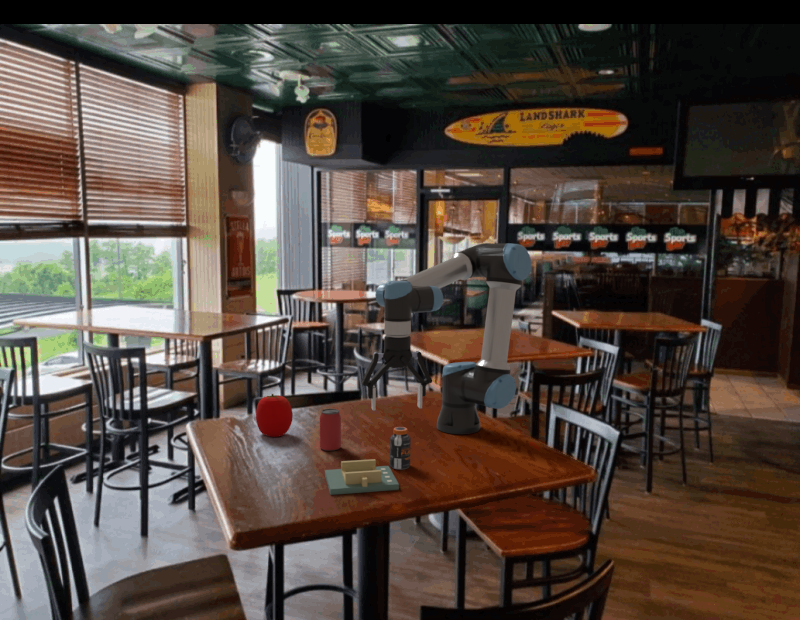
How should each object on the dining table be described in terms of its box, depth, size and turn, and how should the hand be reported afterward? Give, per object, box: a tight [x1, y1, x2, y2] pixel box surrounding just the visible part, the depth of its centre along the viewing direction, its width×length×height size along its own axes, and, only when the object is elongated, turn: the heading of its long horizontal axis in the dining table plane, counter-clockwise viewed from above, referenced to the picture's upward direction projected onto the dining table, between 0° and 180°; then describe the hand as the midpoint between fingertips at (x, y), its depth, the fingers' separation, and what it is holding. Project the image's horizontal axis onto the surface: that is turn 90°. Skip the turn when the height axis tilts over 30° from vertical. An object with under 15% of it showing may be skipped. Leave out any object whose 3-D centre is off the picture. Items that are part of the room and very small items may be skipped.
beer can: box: [319, 408, 342, 452], centre depth 202 cm, size 7×7×12 cm
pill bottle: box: [389, 426, 412, 470], centre depth 187 cm, size 6×6×11 cm
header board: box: [324, 458, 400, 496], centre depth 175 cm, size 18×14×4 cm
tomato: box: [255, 393, 294, 438], centre depth 215 cm, size 13×11×14 cm
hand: (396, 408), depth 186 cm, fingers open, 13 cm apart
